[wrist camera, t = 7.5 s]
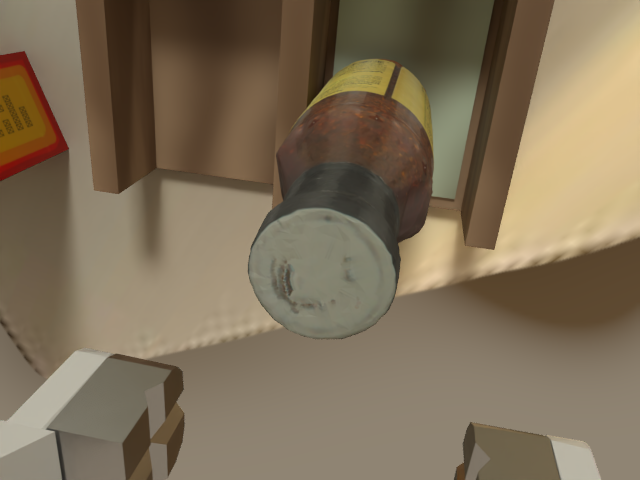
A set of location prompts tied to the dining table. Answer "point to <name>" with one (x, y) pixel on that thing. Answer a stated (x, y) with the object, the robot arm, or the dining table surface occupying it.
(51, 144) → the baking soda box
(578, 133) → the dining table surface
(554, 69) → the dining table surface
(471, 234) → the wooden divided tray
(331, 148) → the sauce bottle
